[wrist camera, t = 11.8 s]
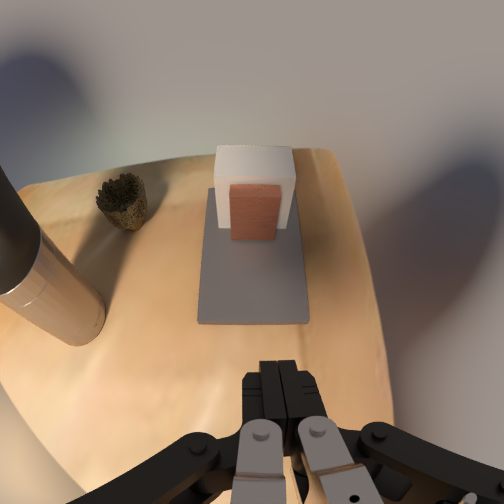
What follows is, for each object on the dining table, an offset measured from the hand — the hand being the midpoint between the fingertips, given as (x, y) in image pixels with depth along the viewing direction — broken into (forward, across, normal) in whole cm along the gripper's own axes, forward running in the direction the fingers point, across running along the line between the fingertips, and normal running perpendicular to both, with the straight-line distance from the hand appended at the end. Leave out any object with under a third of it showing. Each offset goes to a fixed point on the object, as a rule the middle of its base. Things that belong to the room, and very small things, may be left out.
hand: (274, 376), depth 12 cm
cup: (+35, +19, -1) cm, 40 cm away
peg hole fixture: (+32, 0, +2) cm, 32 cm away
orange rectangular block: (+35, 0, -4) cm, 35 cm away
